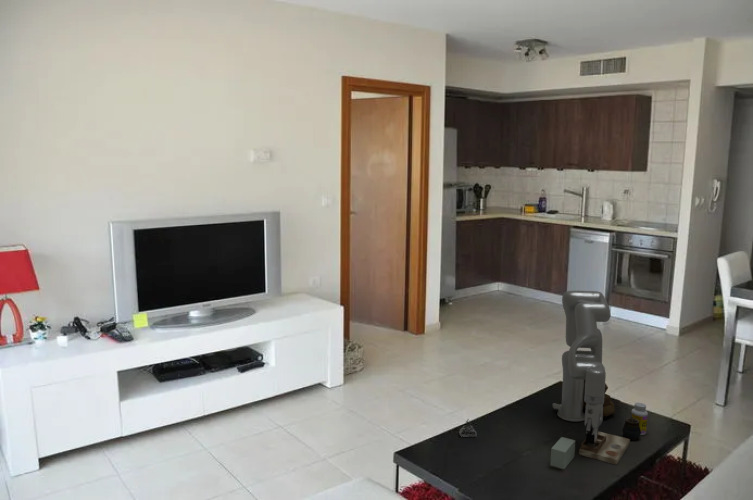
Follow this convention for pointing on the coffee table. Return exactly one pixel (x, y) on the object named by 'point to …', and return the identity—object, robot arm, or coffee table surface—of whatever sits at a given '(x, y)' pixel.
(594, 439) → the peg
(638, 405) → the supplement bottle
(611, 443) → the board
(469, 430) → the house of cards
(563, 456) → the housing
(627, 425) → the mate gourd
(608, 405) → the wooden toy train
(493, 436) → the coffee table surface
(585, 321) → the robot arm
